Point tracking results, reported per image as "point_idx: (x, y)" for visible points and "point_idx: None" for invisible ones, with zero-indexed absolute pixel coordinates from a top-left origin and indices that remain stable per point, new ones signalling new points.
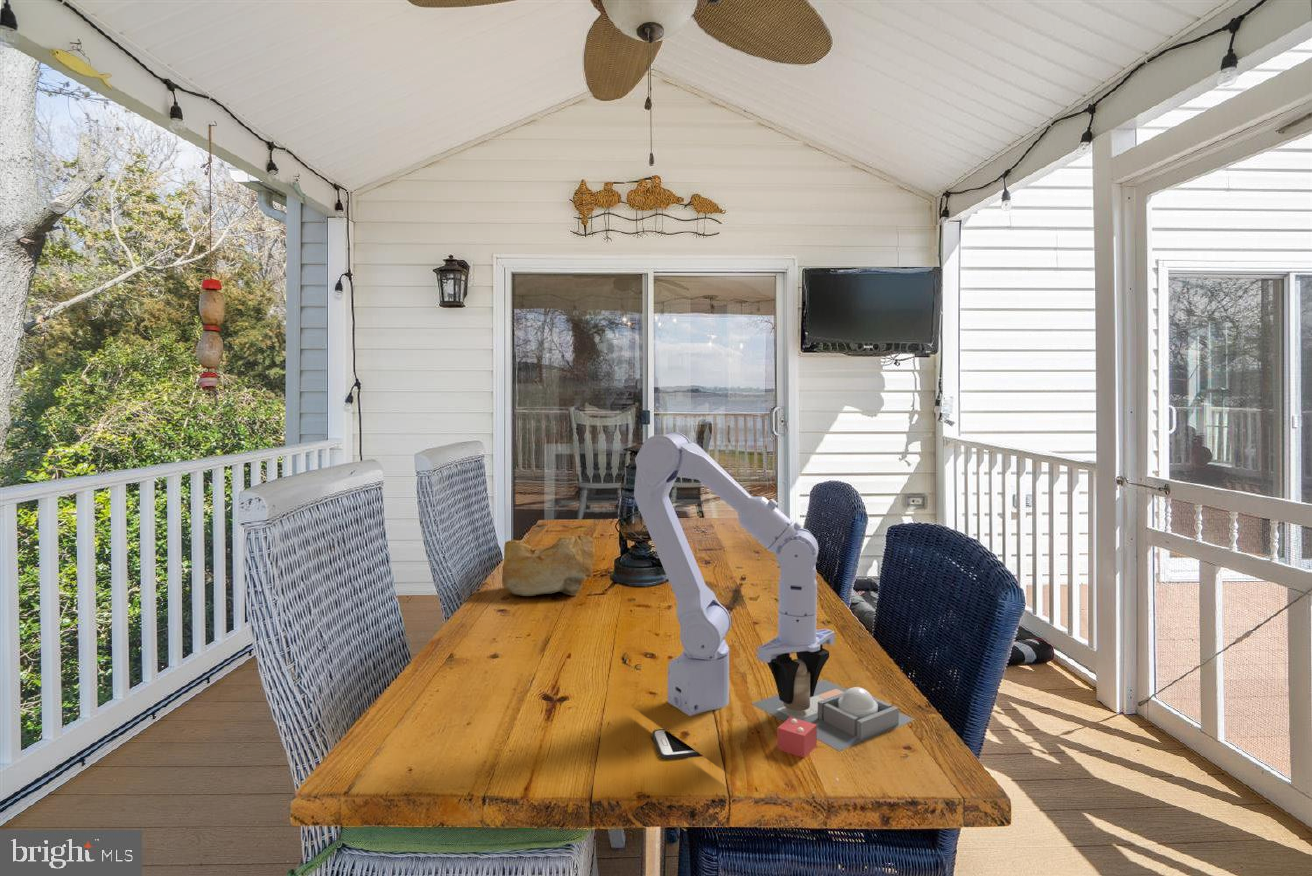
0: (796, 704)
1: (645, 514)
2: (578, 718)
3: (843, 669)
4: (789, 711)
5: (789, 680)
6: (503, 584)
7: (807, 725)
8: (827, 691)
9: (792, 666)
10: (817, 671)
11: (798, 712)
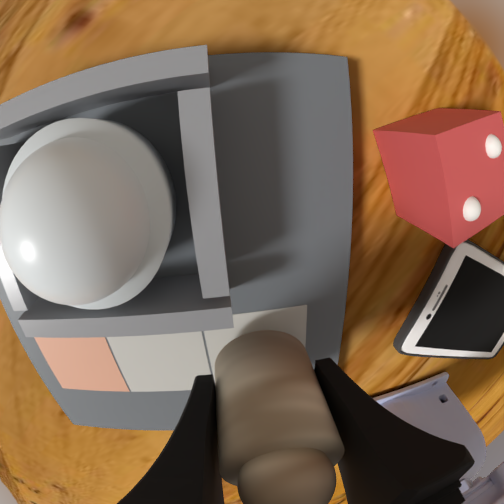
0: (300, 352)
1: None
2: (487, 401)
3: (20, 422)
4: None
5: (394, 420)
6: None
7: (462, 154)
8: (90, 391)
9: (457, 463)
10: (189, 459)
11: None
